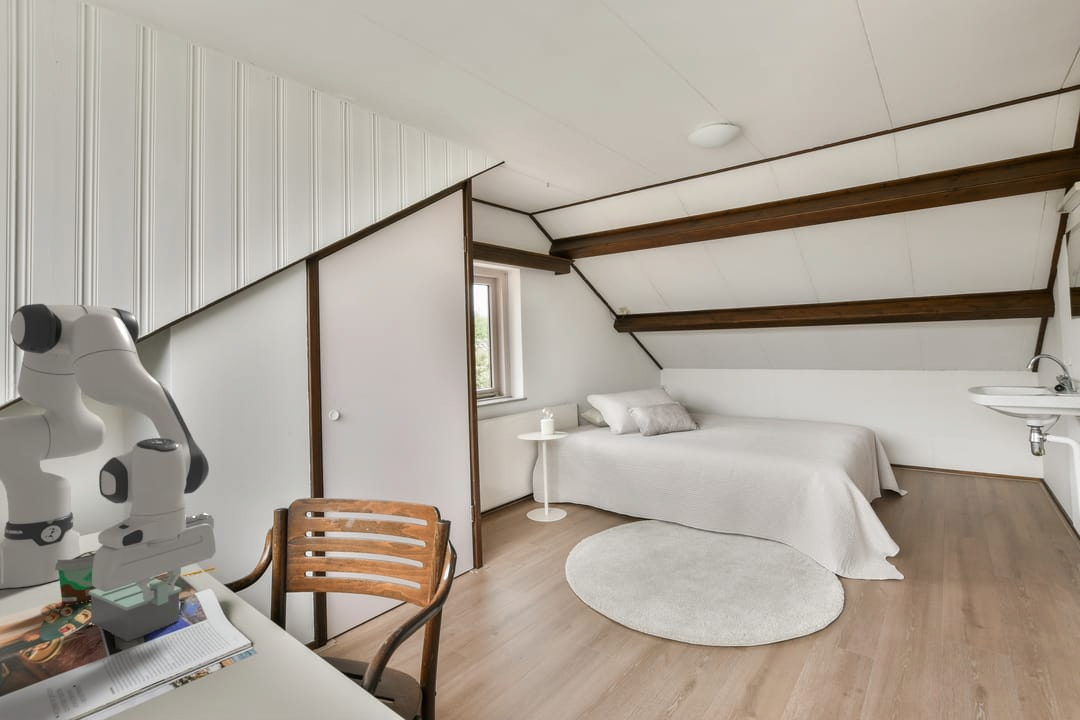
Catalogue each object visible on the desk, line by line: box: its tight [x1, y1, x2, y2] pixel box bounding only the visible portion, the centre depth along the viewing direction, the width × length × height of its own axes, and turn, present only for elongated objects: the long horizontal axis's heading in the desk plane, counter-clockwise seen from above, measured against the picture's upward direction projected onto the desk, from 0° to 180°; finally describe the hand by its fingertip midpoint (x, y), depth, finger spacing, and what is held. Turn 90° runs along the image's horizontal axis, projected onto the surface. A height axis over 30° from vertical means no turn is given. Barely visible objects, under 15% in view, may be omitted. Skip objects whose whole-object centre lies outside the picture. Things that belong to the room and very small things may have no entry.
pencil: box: [180, 566, 216, 577], centre depth 129 cm, size 1×18×1 cm, turn 138°
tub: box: [90, 592, 180, 642], centre depth 108 cm, size 14×9×6 cm, turn 62°
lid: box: [89, 577, 183, 611], centre depth 107 cm, size 17×10×4 cm, turn 62°
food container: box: [55, 549, 98, 605], centre depth 120 cm, size 12×6×10 cm, turn 168°
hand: (158, 596), depth 104 cm, fingers closed on lid, 2 cm apart
